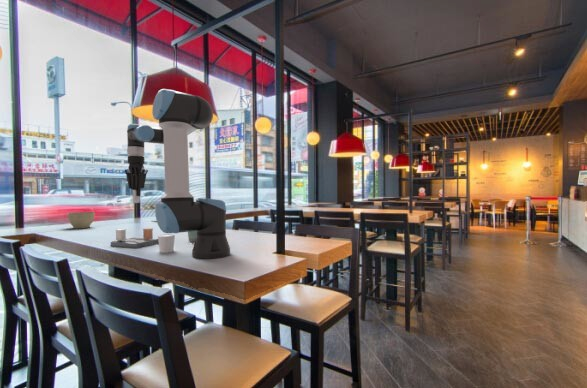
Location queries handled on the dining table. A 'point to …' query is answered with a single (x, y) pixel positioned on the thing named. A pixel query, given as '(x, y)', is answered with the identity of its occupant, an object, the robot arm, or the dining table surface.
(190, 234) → the coffee cup
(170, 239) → the white tapered cup
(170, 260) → the dining table surface
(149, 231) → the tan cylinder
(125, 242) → the dark grey tray
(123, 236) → the cylinder
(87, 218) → the planter bowl
